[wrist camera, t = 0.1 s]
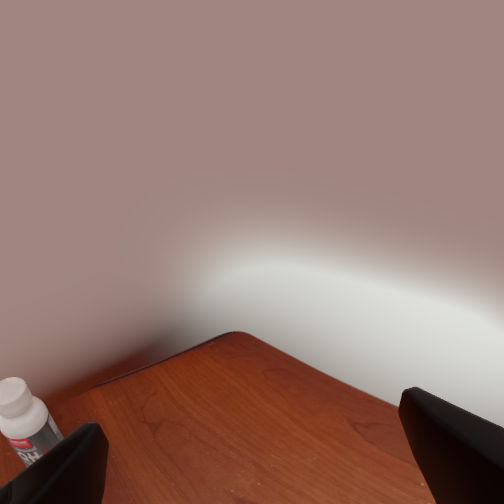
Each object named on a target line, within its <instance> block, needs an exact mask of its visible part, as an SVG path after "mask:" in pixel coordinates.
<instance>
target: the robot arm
mask: <svg viewBox="0 0 504 504" xmlns="http://www.w3.org/2000/svg"><path fill="white" fill-rule="evenodd" d="M398 413H399V417H400V420H401V423H402V425H403V428H404V431H405V434H406V436H407V439H408V442H409V445H410V448H411V451H412V453H413V456H414V458H415V460H416V462H417V464H418V466H419V468H420V470H421V472H422V474H423V476H424V478H425V480H426V482H427V484H428V487H429V489H430V491H431V493H432V495H433V497H434V499H435V501H436V504H504V428H503V427H501V426H499V425H496V424H494V423H492V422H490V421H488V420H485V419H483V418H481V417H479V416H477V415H474V414H472V413H470V412H468V411H466V410H464V409H462V408H460V407H457V406H455V405H453V404H451V403H449V402H447V401H445V400H443V399H441V398H439V397H437V396H435V395H432V394H430V393H428V392H426V391H424V390H422V389H420V388H418V387H412V388H409V389H405V390H404V391H403V393H402V397H401V401H400V405H399V409H398ZM108 449H109V443H108V440H107V438H106V436H105V434H104V432H103V430H102V429H101V427H100V425H99V424H98V423H96V422H84V423H83V424H81V425H80V426H79V427H78V428H76V429H75V430H74V431H73V432H71V433H70V434H69V435H68V436H66V437H65V438H64V439H63V440H61V441H60V442H59V443H58V444H56V445H55V446H54V447H53V448H51V449H50V450H49V451H47V452H46V453H45V454H44V455H42V456H41V457H40V458H39V459H37V460H36V461H35V462H33V463H32V464H31V465H30V466H28V467H27V468H26V469H24V470H23V471H22V472H20V473H19V474H18V475H17V476H15V477H14V478H13V479H12V480H11V481H9V482H7V483H6V484H5V485H3V486H2V487H1V488H0V504H101V503H102V498H103V493H104V488H105V479H106V468H107V458H108Z"/></svg>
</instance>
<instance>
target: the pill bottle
mask: <svg viewBox="0 0 504 504" xmlns="http://www.w3.org/2000/svg"><path fill="white" fill-rule="evenodd" d="M0 431H1V432H2V434H3V435H4V437H5V438H6V440H7V441H8V442H9V444H10V445H11V447H12V448H13V449H14V451H15V452H16V453H17V455H18V456H19V458H20V459H21V460H22V462H23V463H24V464H25V465H26V467H28V466H30V465H31V464H32V463H33V462H35V461H36V460H37V459H39V458H40V457H41V456H42V455H44V454H45V453H46V452H47V451H49V450H50V449H51V448H53V447H54V446H55V445H56V444H58V443H59V442H60V441H61V440H63V439H64V437H63V435H62V434H61V432H60V430H59V429H58V427H57V425H56V424H55V422H54V420H53V419H52V417H51V415H50V413H49V411H48V409H47V407H46V406H45V404H44V403H43V402H42V401H41V400H40V399H39V398H37V397H35V396H32V395H31V392H30V390H29V388H28V386H27V385H26V383H25V381H24V380H23V379H21V378H18V377H11V378H7V379H4V380H2V381H0Z"/></svg>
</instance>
